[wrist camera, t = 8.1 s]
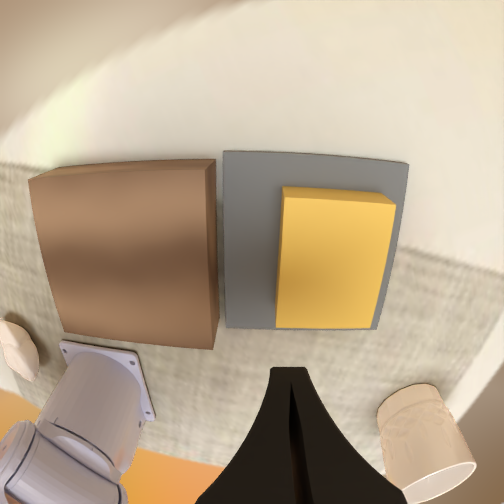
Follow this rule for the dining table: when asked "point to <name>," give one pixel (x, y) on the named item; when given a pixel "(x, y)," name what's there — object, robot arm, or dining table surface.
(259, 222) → the mat
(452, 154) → the dining table surface
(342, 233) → the yellow cuboid
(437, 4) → the dining table surface
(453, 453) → the white cup
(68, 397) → the robot arm
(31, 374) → the dumpling
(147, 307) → the brown cuboid
